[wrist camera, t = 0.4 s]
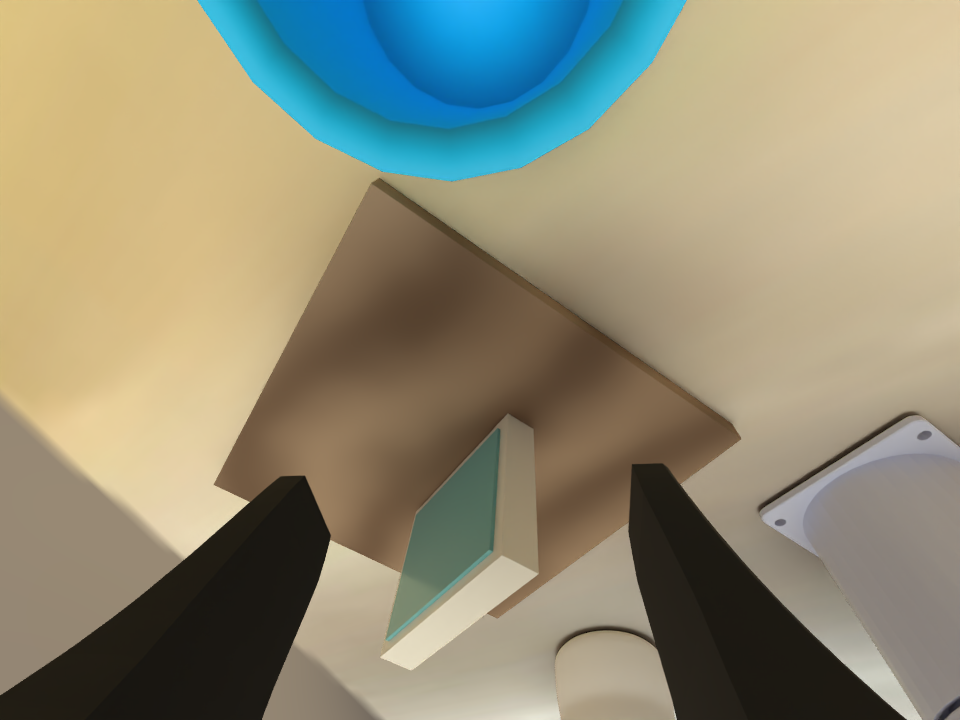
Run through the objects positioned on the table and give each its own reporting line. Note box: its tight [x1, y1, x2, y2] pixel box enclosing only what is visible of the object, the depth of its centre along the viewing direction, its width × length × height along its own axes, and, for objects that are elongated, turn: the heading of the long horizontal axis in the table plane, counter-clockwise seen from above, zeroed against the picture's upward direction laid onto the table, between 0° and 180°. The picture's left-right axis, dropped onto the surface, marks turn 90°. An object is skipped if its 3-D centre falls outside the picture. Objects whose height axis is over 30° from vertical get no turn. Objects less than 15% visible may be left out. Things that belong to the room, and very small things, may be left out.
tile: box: [380, 414, 539, 670], centre depth 19 cm, size 2×8×7 cm, turn 146°
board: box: [214, 179, 741, 618], centre depth 22 cm, size 18×18×1 cm
